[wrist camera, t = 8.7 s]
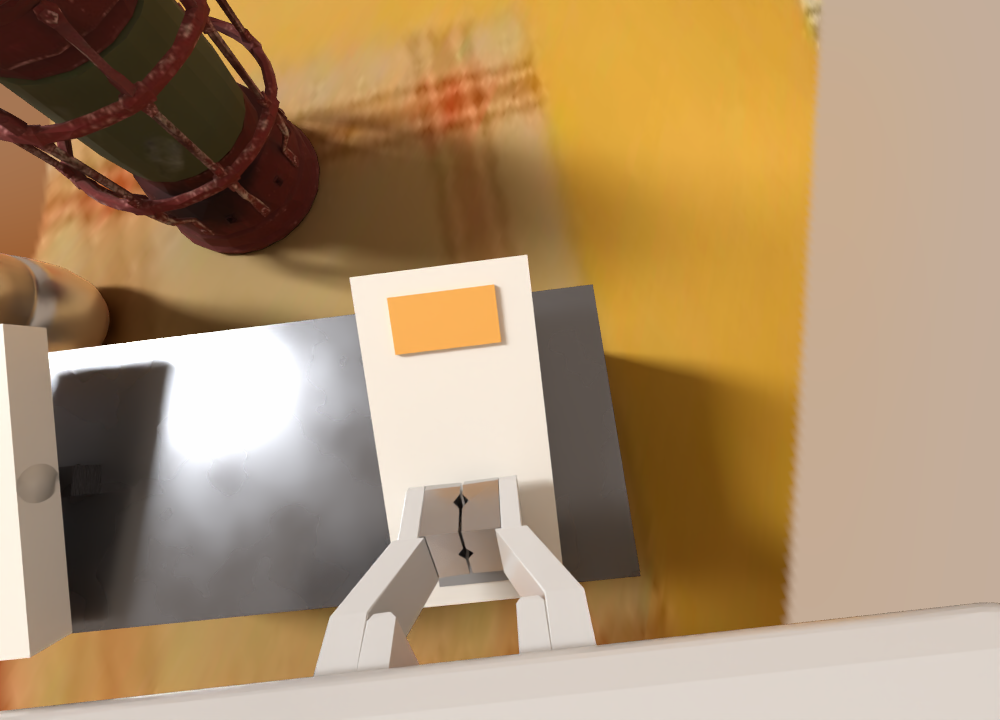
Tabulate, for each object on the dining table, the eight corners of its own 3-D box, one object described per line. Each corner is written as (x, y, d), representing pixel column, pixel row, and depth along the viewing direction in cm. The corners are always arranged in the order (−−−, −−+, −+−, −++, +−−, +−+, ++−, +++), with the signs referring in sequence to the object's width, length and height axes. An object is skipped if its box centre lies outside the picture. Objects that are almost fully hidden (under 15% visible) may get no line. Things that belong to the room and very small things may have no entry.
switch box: (592, 521, 23) (649, 585, 13) (138, 569, 24) (-168, 667, 14) (566, 341, 26) (595, 265, 15) (149, 392, 26) (-109, 354, 16)
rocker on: (560, 569, 14) (566, 596, 13) (410, 584, 14) (399, 613, 13) (525, 260, 13) (527, 254, 12) (364, 281, 13) (347, 277, 12)
